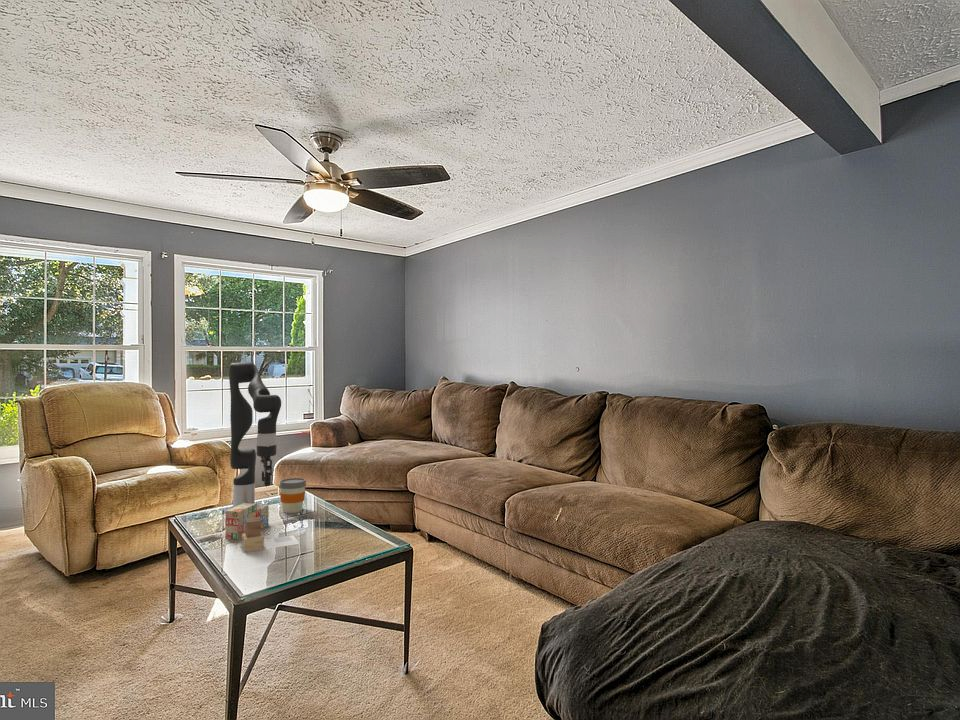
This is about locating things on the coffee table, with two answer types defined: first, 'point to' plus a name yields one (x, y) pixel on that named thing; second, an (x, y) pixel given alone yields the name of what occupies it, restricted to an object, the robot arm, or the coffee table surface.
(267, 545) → the white board
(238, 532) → the stack of blocks
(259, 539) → the oak block
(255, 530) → the walnut block
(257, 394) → the robot arm
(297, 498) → the reusable coffee cup
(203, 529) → the coffee table surface
